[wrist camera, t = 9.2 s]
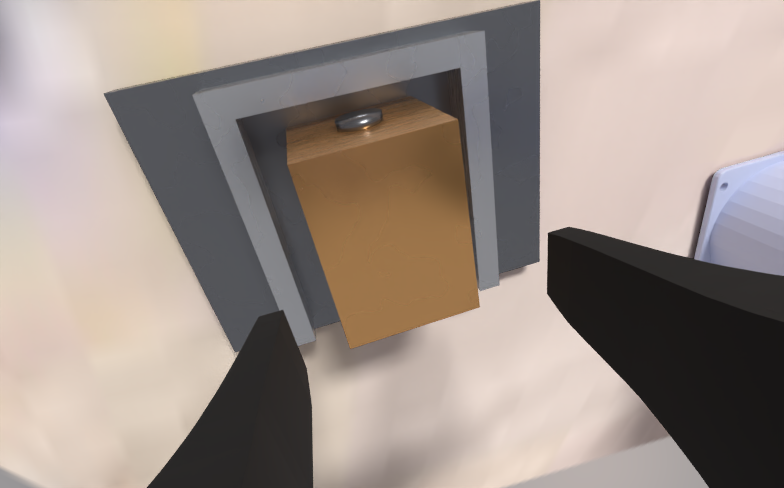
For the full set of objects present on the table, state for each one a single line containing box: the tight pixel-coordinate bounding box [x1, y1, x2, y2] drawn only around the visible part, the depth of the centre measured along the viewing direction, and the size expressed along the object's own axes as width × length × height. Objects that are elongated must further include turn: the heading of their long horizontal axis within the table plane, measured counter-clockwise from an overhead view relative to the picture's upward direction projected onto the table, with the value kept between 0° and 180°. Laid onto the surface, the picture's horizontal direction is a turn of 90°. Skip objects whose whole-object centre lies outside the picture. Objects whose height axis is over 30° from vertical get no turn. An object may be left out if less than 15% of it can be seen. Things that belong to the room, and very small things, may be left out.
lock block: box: [286, 96, 480, 349], centre depth 15 cm, size 7×5×5 cm
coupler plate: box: [104, 0, 540, 352], centre depth 17 cm, size 12×16×2 cm
